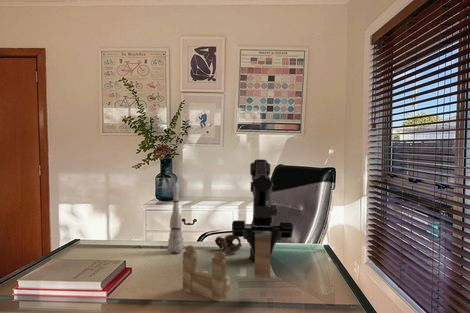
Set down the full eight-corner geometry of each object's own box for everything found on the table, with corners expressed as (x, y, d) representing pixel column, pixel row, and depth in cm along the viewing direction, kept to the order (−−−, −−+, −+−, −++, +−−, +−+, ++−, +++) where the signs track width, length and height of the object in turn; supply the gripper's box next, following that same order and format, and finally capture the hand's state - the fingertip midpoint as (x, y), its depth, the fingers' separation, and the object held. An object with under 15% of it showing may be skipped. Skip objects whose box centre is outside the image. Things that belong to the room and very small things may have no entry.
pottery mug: (241, 249, 145) (245, 236, 141) (236, 265, 137) (239, 251, 133) (216, 241, 147) (219, 227, 143) (209, 256, 139) (211, 242, 135)
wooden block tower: (199, 281, 108) (199, 239, 108) (235, 290, 101) (235, 246, 101) (182, 290, 101) (183, 245, 101) (220, 301, 94) (220, 253, 94)
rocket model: (164, 251, 140) (164, 181, 139) (179, 248, 144) (180, 181, 143) (171, 256, 134) (172, 183, 133) (187, 252, 138) (188, 182, 137)
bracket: (254, 271, 100) (254, 230, 99) (269, 272, 99) (269, 231, 99) (254, 277, 95) (255, 234, 95) (270, 278, 95) (270, 235, 95)
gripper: (232, 194, 101) (229, 239, 90) (292, 195, 100) (297, 241, 89) (233, 214, 109) (231, 258, 98) (289, 216, 108) (293, 260, 97)
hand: (262, 254), depth 96 cm, fingers closed on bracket, 4 cm apart
